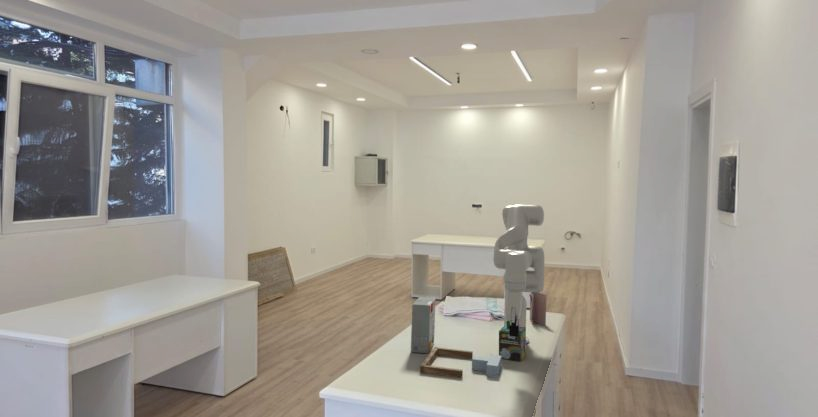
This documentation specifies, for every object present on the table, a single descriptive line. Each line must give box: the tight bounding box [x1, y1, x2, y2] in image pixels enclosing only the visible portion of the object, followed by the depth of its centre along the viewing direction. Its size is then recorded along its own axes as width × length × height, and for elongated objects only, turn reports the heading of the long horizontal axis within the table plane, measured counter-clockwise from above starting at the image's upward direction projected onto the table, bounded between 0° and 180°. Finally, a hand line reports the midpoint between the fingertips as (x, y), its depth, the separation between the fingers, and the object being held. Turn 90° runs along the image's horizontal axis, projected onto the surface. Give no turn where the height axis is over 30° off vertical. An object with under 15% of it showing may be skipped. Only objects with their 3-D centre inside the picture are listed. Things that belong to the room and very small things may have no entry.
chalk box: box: [498, 321, 527, 362], centre depth 213 cm, size 9×9×15 cm
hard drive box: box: [410, 296, 436, 354], centre depth 223 cm, size 16×8×20 cm, turn 168°
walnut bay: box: [419, 346, 474, 379], centre depth 203 cm, size 23×16×2 cm
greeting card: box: [528, 292, 547, 326], centre depth 265 cm, size 11×7×15 cm, turn 174°
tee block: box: [471, 353, 502, 378], centre depth 199 cm, size 12×10×4 cm
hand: (513, 335), depth 194 cm, fingers closed
